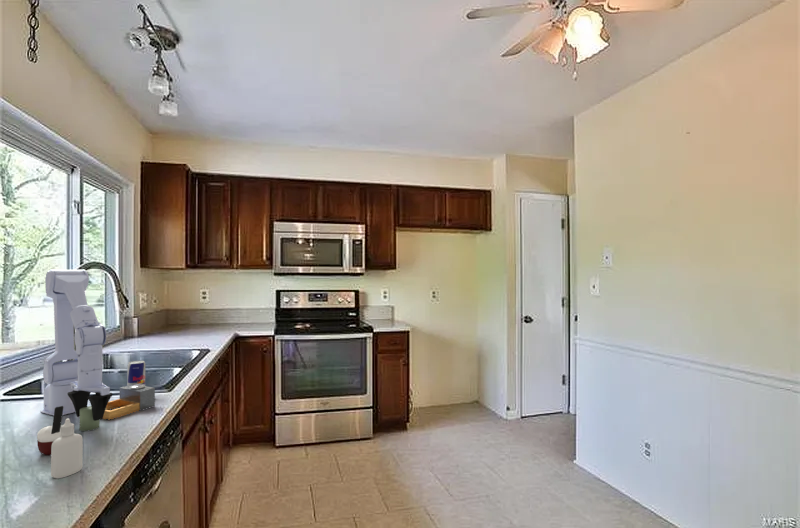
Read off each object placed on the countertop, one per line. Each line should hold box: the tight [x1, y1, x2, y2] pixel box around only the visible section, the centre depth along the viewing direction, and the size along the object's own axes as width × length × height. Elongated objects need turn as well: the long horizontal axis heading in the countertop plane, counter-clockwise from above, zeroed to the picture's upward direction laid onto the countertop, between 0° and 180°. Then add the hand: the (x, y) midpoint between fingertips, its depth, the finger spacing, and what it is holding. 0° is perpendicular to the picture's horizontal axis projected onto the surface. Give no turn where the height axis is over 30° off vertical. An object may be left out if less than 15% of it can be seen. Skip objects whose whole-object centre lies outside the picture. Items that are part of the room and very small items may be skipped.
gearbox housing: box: [102, 384, 156, 421], centre depth 142 cm, size 10×15×7 cm
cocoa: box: [36, 406, 63, 456], centre depth 110 cm, size 10×6×12 cm, turn 28°
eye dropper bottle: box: [50, 418, 84, 480], centre depth 100 cm, size 4×6×12 cm
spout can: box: [79, 405, 106, 432], centre depth 128 cm, size 5×7×6 cm
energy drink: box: [126, 360, 146, 386], centre depth 157 cm, size 5×5×12 cm
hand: (89, 417), depth 127 cm, fingers open, 7 cm apart
